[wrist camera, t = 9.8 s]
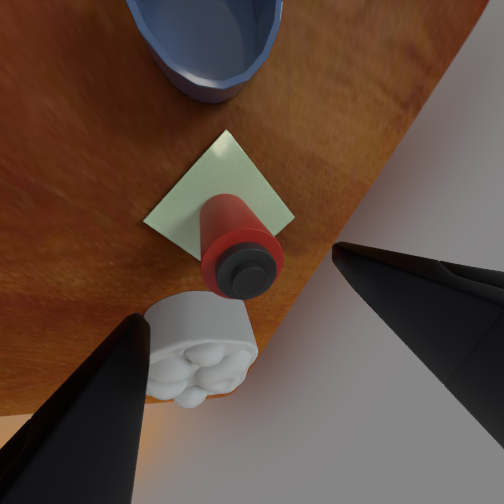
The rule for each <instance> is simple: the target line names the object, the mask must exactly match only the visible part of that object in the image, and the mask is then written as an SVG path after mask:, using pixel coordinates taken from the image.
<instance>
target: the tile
mask: <svg viewBox="0 0 504 504" xmlns="http://www.w3.org/2000/svg"><path fill="white" fill-rule="evenodd" d="M218 194H232V195H235V196H237V197H239V198H241V199H242V200H243V201H244V202H245V203H246V204H247V206H248V207H249V208H250V209H251V210H252V211H253V213H254V214H255V215H256V216H257V217H258V218H259V220H260V221H261V222H262V223H263V224H264V225H265V227H266V228H267V229H268V230H269V231H270V232H271V234H272V235H273V236H275V235H276V234H277V233H279V232H280V231H281V230H282V229H283V228H284V227H285V226H286V225H287V224H288V223H290V222H291V221H292V220H293V219H294V218H295V217H294V216H293V214H292V213H291V212H290V210H289V209H288V208H287V207H286V205H285V204H284V203H283V201H282V200H281V199H280V198H279V196H278V195H277V194H276V192H275V191H274V190H273V189H272V187H271V186H270V185H269V183H268V182H267V181H266V180H265V178H264V177H263V176H262V174H261V173H260V172H259V170H258V169H257V168H256V167H255V165H254V164H253V163H252V161H251V160H250V159H249V158H248V156H247V155H246V154H245V152H244V151H243V150H242V149H241V147H240V146H239V145H238V143H237V142H236V141H235V140H234V138H233V137H232V136H231V134H230V133H229V132H228V130H227V129H226V130H224V132H223V133H222V134H221V135H220V136H219V137H218V138H217V139H216V140H215V141H214V143H213V144H212V145H211V146H210V147H209V148H208V149H207V150H206V151H205V153H204V154H203V155H202V156H201V157H200V158H199V159H198V160H197V161H196V162H195V164H194V165H193V166H192V167H191V168H190V169H189V170H188V171H187V172H186V174H185V175H184V176H183V177H182V178H181V179H180V180H179V181H178V182H177V184H176V185H175V186H174V187H173V188H172V189H171V190H170V191H169V192H168V193H167V195H166V196H165V197H164V198H163V199H162V200H161V201H160V202H159V203H158V205H157V206H156V207H155V208H154V209H153V210H152V211H151V212H150V213H149V214H148V216H147V217H146V218H145V219H144V220H143V222H145V223H146V224H148V225H149V226H151V227H152V228H153V229H155V230H156V231H158V232H159V233H161V234H162V235H164V236H165V237H166V238H168V239H169V240H171V241H172V242H174V243H175V244H177V245H178V246H179V247H181V248H182V249H184V250H185V251H187V252H188V253H190V254H191V255H193V256H194V257H195V258H197V259H198V260H200V261H201V255H200V212H201V209H202V207H203V205H204V204H205V203H206V201H207V200H209V199H210V198H211V197H213V196H215V195H218Z"/></svg>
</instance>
